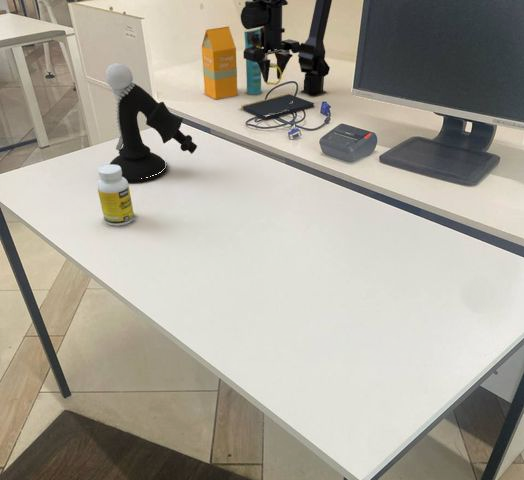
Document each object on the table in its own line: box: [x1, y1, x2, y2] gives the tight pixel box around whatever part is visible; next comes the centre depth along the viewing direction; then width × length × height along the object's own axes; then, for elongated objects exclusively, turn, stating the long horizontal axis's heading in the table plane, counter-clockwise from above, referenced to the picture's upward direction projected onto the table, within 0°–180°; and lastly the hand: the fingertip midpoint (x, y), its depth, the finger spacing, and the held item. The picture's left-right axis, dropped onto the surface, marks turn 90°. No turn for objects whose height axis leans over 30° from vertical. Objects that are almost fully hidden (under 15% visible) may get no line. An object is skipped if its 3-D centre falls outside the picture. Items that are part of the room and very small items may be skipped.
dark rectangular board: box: [240, 93, 315, 121], centre depth 172 cm, size 20×13×1 cm, turn 128°
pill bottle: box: [96, 163, 135, 226], centre depth 113 cm, size 6×6×12 cm
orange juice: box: [201, 26, 239, 100], centre depth 177 cm, size 8×9×20 cm
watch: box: [264, 62, 283, 86], centre depth 168 cm, size 6×3×6 cm, turn 90°
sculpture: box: [105, 62, 198, 184], centre depth 128 cm, size 15×24×25 cm, turn 86°
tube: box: [244, 28, 263, 96], centre depth 178 cm, size 7×5×19 cm, turn 134°
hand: (272, 80), depth 169 cm, fingers closed on watch, 5 cm apart
